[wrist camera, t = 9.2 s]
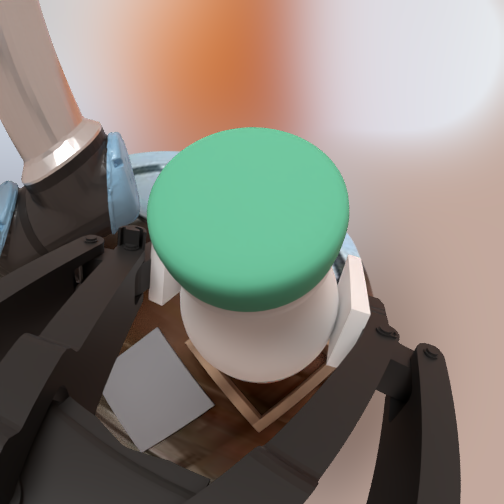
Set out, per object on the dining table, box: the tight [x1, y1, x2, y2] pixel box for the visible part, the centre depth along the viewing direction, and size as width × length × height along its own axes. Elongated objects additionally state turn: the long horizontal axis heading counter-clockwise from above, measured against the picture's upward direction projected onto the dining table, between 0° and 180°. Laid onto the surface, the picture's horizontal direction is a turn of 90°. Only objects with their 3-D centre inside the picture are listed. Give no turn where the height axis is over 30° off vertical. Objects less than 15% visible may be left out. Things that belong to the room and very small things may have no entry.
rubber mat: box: [103, 327, 215, 453], centre depth 35 cm, size 14×14×1 cm
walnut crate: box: [185, 339, 336, 433], centre depth 35 cm, size 14×14×5 cm
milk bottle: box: [147, 127, 349, 383], centre depth 15 cm, size 8×8×20 cm
